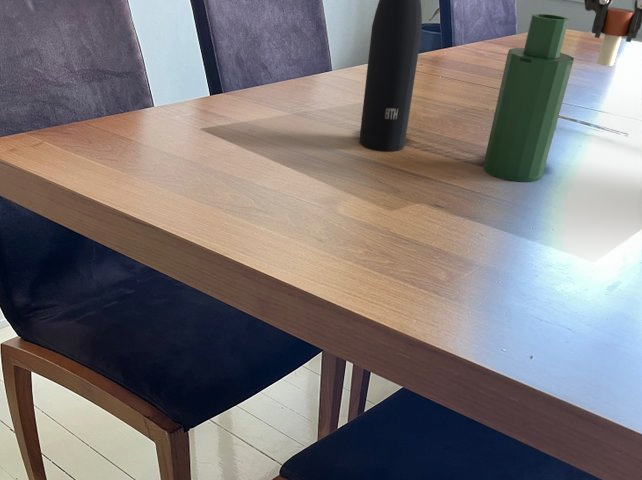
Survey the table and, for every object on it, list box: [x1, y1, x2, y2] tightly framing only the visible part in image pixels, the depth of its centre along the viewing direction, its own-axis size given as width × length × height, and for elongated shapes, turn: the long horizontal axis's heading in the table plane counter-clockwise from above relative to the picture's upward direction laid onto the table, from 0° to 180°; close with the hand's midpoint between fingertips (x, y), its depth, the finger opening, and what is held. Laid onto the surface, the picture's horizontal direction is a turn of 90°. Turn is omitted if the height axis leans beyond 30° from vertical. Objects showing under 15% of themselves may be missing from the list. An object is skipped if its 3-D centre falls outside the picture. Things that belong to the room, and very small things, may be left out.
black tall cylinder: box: [358, 0, 423, 152], centre depth 93 cm, size 6×6×30 cm
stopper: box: [596, 7, 634, 67], centre depth 107 cm, size 4×4×7 cm
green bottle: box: [482, 13, 575, 183], centre depth 92 cm, size 8×8×18 cm
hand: (613, 35), depth 106 cm, fingers closed on stopper, 3 cm apart
